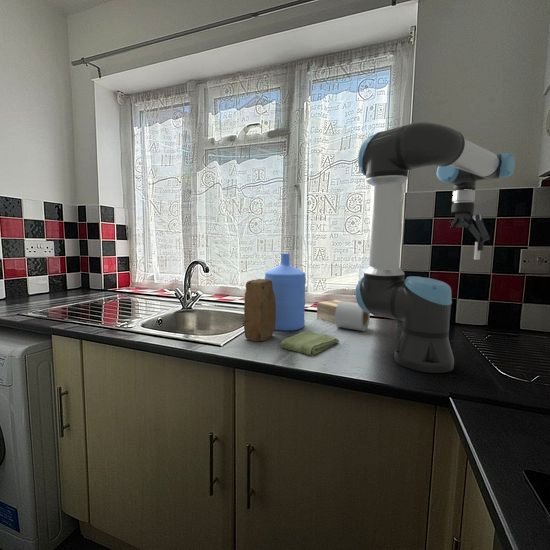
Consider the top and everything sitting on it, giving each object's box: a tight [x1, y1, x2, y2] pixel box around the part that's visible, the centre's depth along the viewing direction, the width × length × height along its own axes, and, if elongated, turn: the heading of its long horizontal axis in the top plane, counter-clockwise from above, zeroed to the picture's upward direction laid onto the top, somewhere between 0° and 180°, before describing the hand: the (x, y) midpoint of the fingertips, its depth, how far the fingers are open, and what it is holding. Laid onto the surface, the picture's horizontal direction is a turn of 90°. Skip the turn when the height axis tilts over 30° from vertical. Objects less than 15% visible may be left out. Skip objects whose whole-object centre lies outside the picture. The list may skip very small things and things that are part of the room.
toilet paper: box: [334, 300, 371, 332], centre depth 127 cm, size 10×10×10 cm
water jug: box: [264, 253, 307, 332], centre depth 128 cm, size 16×16×28 cm
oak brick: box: [316, 299, 353, 324], centre depth 142 cm, size 13×13×7 cm
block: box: [243, 278, 276, 342], centre depth 112 cm, size 11×8×20 cm
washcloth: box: [280, 330, 340, 356], centre depth 106 cm, size 13×18×3 cm
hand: (458, 258), depth 129 cm, fingers open, 13 cm apart
